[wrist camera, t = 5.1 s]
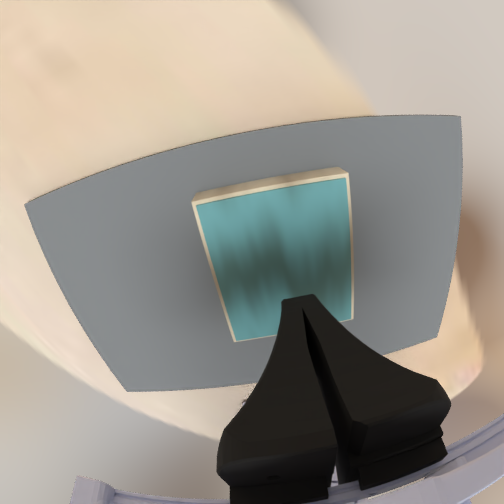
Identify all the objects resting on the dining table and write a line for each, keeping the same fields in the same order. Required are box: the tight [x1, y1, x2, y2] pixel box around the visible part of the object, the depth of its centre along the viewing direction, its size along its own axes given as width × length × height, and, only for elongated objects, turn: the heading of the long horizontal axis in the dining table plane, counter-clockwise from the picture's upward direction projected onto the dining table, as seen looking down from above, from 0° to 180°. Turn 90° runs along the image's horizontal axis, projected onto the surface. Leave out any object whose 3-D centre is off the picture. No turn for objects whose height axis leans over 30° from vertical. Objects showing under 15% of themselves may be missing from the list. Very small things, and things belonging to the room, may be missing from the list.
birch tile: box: [191, 167, 354, 342], centre depth 16 cm, size 9×2×8 cm
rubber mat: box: [24, 115, 463, 392], centre depth 18 cm, size 18×28×1 cm, turn 101°
